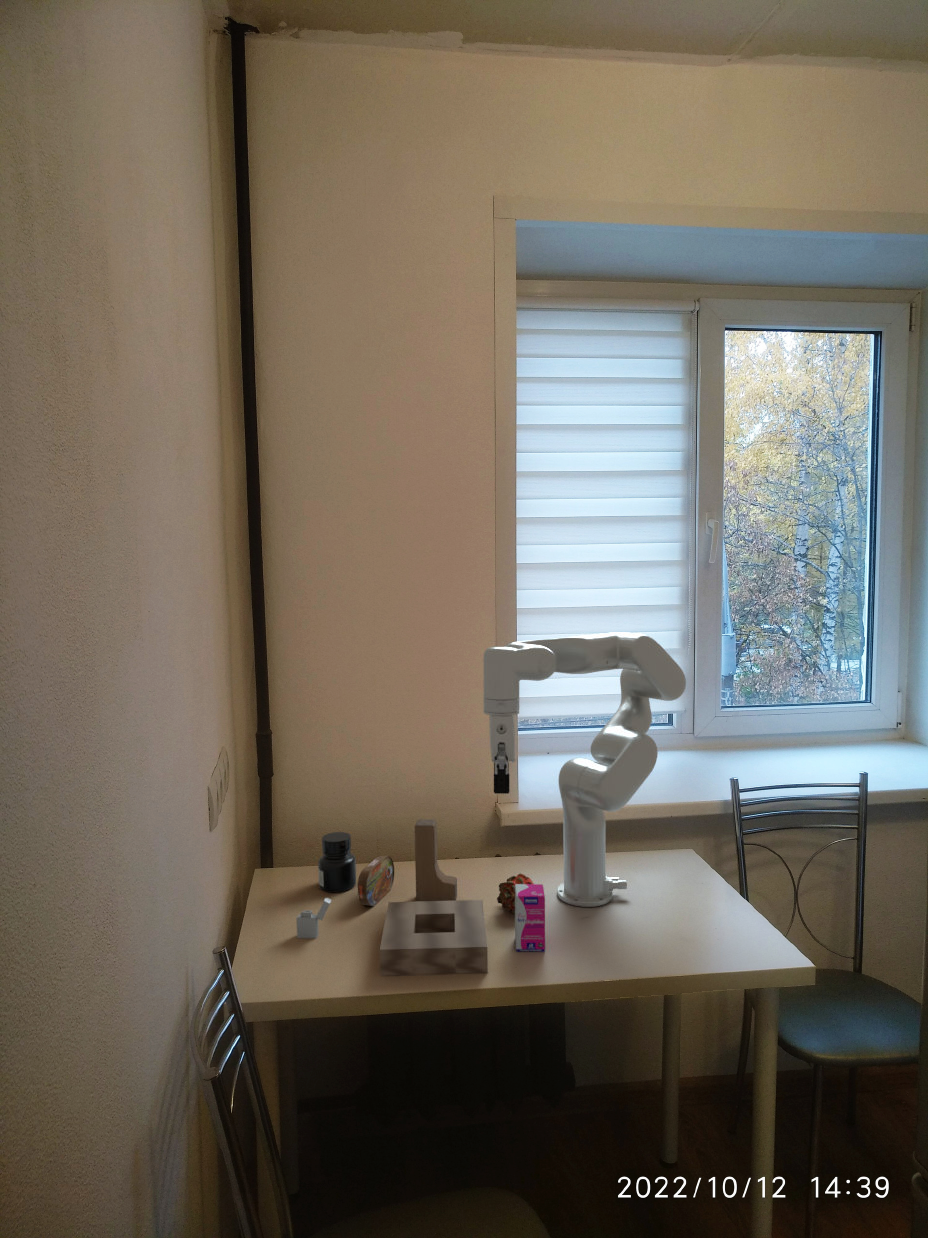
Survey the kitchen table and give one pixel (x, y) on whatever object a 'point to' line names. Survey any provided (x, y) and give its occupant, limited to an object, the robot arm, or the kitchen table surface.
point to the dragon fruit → (511, 891)
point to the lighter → (310, 921)
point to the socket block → (434, 938)
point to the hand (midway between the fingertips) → (501, 786)
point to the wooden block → (430, 866)
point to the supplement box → (529, 917)
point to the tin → (375, 880)
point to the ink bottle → (337, 863)
